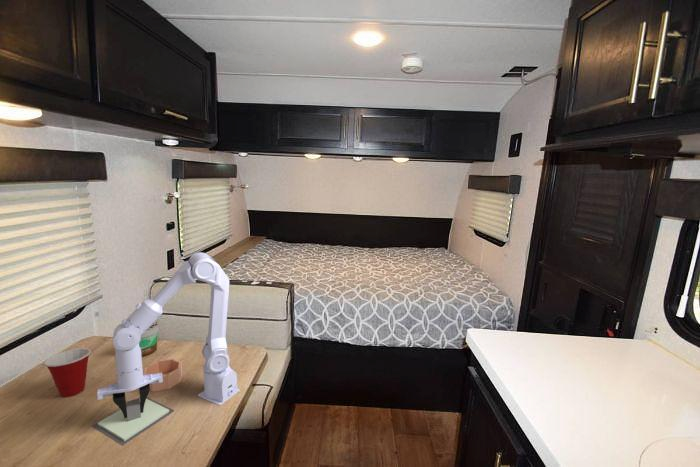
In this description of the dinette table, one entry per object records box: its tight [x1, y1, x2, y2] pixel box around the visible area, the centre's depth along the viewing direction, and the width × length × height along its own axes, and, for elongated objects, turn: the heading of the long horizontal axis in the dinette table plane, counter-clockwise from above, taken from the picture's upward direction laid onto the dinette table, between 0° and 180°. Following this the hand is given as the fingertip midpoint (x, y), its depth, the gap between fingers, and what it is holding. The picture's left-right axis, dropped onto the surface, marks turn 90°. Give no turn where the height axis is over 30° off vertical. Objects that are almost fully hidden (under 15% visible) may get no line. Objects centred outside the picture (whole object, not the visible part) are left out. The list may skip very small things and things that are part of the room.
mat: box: [91, 396, 175, 446], centre depth 90 cm, size 14×14×1 cm
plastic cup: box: [43, 347, 92, 398], centre depth 100 cm, size 11×11×12 cm
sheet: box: [98, 397, 169, 441], centre depth 90 cm, size 12×12×5 cm
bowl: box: [143, 358, 183, 393], centre depth 106 cm, size 11×11×5 cm
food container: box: [139, 321, 160, 358], centre depth 123 cm, size 12×6×10 cm, turn 143°
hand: (134, 413), depth 90 cm, fingers closed on sheet, 3 cm apart
